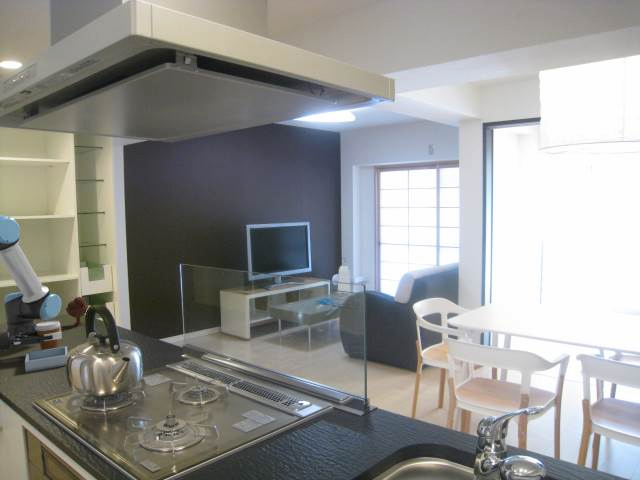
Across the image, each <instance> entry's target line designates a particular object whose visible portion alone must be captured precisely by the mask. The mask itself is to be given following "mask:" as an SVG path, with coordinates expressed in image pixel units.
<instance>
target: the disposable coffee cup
mask: <svg viewBox="0 0 640 480" xmlns="http://www.w3.org/2000/svg"><path fill="white" fill-rule="evenodd" d="M61 326H62V325H61V323H60V321H59V320H50V321H49V320H46V321H42V322H39V323H36V328H35V329H36V330H37V333H38V336H41V335H44V334H50V333H57V332H59V331H60V328H61ZM39 344H40V350H46V349H53V348H59V347H60V339H56V340H49V341H44V343H43V344H42V343H39Z"/></svg>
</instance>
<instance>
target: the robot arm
mask: <svg viewBox="0 0 640 480" xmlns="http://www.w3.org/2000/svg"><path fill="white" fill-rule="evenodd" d="M20 231H21V227H20V225H19V224H18V221H16V219H14V218H13V217H10V216H7V215H0V260H1V261H2V263H3V265H4V266H5V267H6V269H7V271H8V272H9V274H10V276H11V278H12V280H13V281H14V282H15V285H16V286H17V287H18V290H19V291H18V292H12V293H8V294H6V295H5V296H4V303H3V304H4V312H5V321H6V327H5V331H4V332H3V331H2V332H0V351H1V352H6V351H11V350H12V345H13V346H14V347H22V346H27V345H35V344H37V345H38V344H40V343H42V344H43V343H44V341H49V340H56V339H59V340H62V339H63V336H62V335H63V333H62V327H60V331H59V332H57V333H50V334H44V335H41V336H38V333H37V330H36V329H35V328H36V325H37V323H36V320H42V321H43V320H44V321H47V320H52V319H55V318H56V317H57V316H59V314H60V311H61V308H62V299H61V297H60V296H59V295H58V294H56V293H52V292H51V291H50V289H49V288H48V286H45V285H43V284H42V283H41V281H40V278H39V277H38V275H37V273H36V272H35V270H34V269H33V267H32V265H31V264H30V262H29V260H28V258H27V256H26V255H25V253H24V251H23V250H22V248H21V247H20V244H19V243H20V240H21V239H20V236H21V233H20Z"/></svg>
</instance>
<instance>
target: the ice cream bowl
mask: <svg viewBox="0 0 640 480" xmlns="http://www.w3.org/2000/svg"><path fill="white" fill-rule="evenodd" d="M88 307H89V308H90V306H89V305H88V304H87V303H86V300H85V298H84V297H82V296H76V297H75V298H74V299H72V300H70V301H69V303H67V306H66V308H65V311H66V313H67V314H68V315H69V316H71V317H72V318H75V319H76V322H75V323H73V324H72V326H73V325H74V326H73V327H80V326H79V325H82V326H84V325H85V323H84V322H82V321H81V317H83V316H85V315H86V314H87V313H86V310H87V308H88ZM85 313H86V314H85ZM83 324H84V325H83Z"/></svg>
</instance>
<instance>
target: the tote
mask: <svg viewBox="0 0 640 480" xmlns="http://www.w3.org/2000/svg"><path fill="white" fill-rule="evenodd" d="M67 354H69V353H68V346H59V348H53V349H46V350H41V349H40V350H33V351H28V352H26V354H25V359H24V366H25V367H24V368H25V373H30V372H35V371H41V370H47V369H48V370H49V369H54V368H59V367H66V366H65V362H66V357H67Z"/></svg>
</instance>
